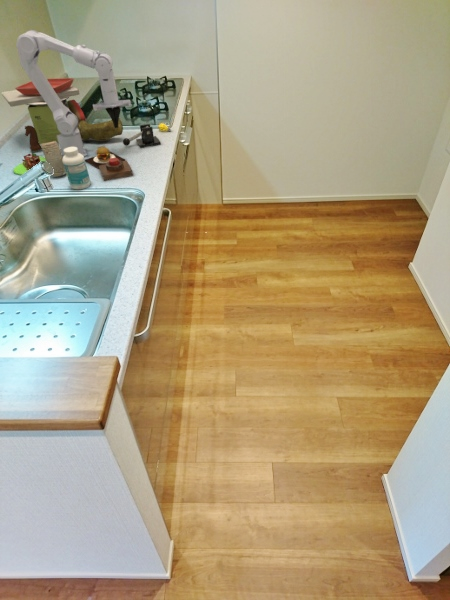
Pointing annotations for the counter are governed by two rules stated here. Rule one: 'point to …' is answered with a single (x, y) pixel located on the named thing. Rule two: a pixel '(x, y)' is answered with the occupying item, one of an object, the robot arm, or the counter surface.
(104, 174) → the button block
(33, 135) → the chess piece
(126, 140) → the lever
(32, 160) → the brown lump green base
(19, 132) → the counter surface
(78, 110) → the decorative object
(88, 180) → the pill bottle
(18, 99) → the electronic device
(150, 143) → the bracket
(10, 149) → the counter surface
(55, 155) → the carving
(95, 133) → the stone tool
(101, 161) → the hamburger
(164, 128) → the light bulb
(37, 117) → the protein box
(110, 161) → the button
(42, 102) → the plate
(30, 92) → the plant saucer
